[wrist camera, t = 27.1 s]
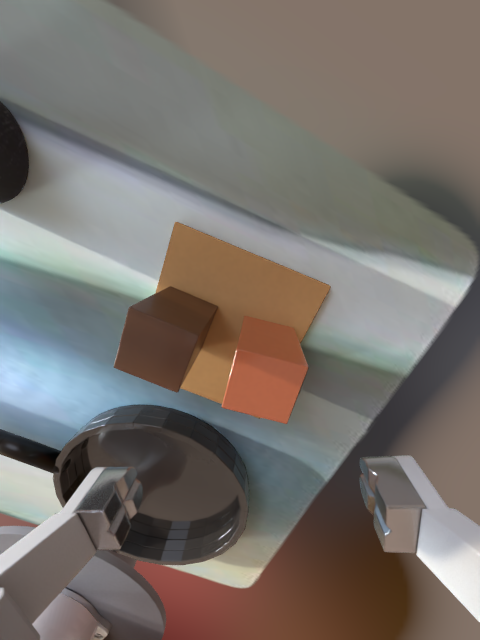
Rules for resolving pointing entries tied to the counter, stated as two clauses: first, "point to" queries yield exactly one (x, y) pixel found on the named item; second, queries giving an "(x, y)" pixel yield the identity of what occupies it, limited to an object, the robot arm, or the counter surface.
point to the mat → (234, 299)
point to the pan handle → (30, 452)
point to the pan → (165, 481)
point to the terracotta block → (265, 371)
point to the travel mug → (11, 156)
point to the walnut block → (164, 337)
